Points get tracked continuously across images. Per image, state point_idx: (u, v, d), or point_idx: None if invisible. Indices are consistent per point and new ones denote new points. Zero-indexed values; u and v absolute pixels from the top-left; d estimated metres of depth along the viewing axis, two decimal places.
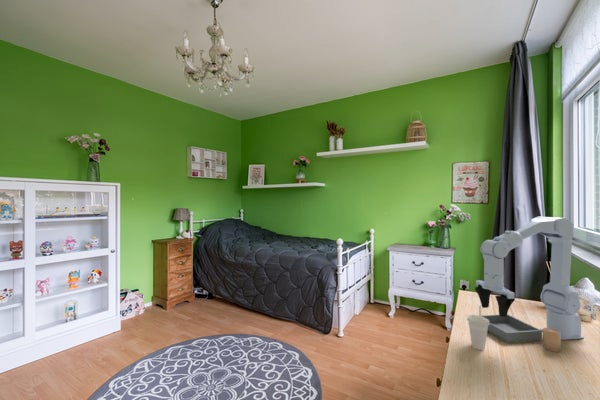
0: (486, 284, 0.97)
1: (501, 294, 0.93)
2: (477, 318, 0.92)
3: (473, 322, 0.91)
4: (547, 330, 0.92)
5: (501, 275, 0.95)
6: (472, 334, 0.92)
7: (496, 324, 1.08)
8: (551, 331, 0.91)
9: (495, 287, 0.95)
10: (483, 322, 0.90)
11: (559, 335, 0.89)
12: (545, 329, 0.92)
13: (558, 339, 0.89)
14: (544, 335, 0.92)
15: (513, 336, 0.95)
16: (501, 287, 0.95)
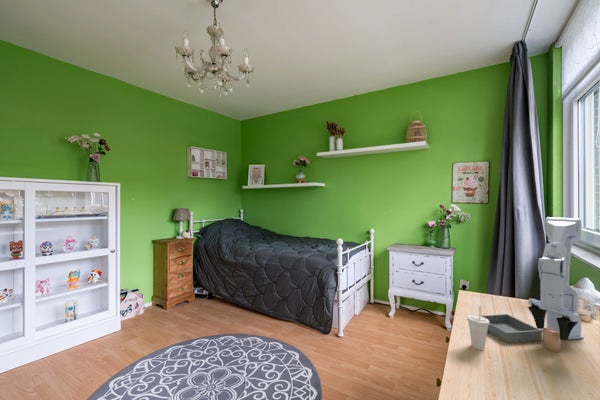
0: (544, 304, 0.91)
1: (562, 316, 0.87)
2: (477, 318, 0.92)
3: (473, 322, 0.91)
4: (547, 330, 0.92)
5: (563, 294, 0.89)
6: (472, 334, 0.92)
7: (496, 324, 1.08)
8: (551, 331, 0.91)
9: (555, 308, 0.89)
10: (483, 322, 0.90)
11: (559, 335, 0.89)
12: (545, 329, 0.92)
13: (558, 339, 0.89)
14: (544, 335, 0.92)
15: (513, 336, 0.95)
16: (561, 308, 0.89)
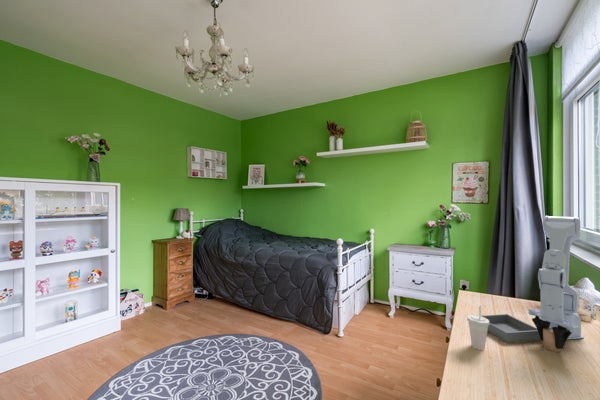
0: (544, 315, 0.91)
1: (562, 327, 0.87)
2: (477, 318, 0.92)
3: (473, 322, 0.91)
4: (547, 330, 0.92)
5: (563, 305, 0.89)
6: (472, 334, 0.92)
7: (496, 324, 1.08)
8: (551, 331, 0.91)
9: (555, 319, 0.89)
10: (483, 322, 0.90)
11: None
12: (545, 329, 0.92)
13: None
14: (544, 335, 0.92)
15: (513, 336, 0.95)
16: (561, 319, 0.89)
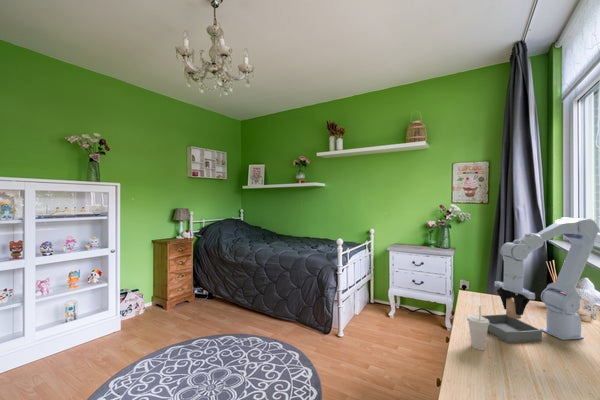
0: (506, 285, 1.01)
1: (521, 295, 0.97)
2: (477, 318, 0.92)
3: (473, 322, 0.91)
4: (509, 299, 1.01)
5: (520, 277, 0.98)
6: (472, 334, 0.92)
7: (496, 324, 1.08)
8: (513, 300, 1.01)
9: (515, 288, 0.98)
10: (483, 322, 0.90)
11: None
12: (508, 299, 1.02)
13: None
14: (506, 304, 1.01)
15: (513, 336, 0.95)
16: (521, 288, 0.98)
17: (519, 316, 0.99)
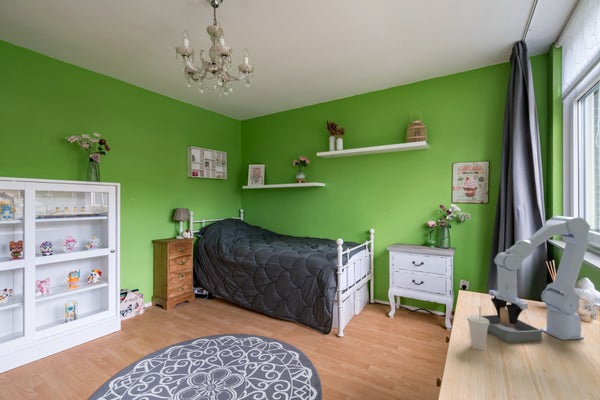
0: (500, 294, 1.02)
1: (514, 304, 0.99)
2: (477, 318, 0.92)
3: (473, 322, 0.91)
4: (503, 308, 1.03)
5: (513, 286, 1.00)
6: (472, 334, 0.92)
7: (496, 324, 1.08)
8: (506, 309, 1.02)
9: (509, 297, 1.00)
10: (483, 322, 0.90)
11: None
12: (502, 308, 1.04)
13: None
14: (500, 313, 1.03)
15: (513, 336, 0.95)
16: (514, 297, 1.00)
17: (512, 325, 1.01)
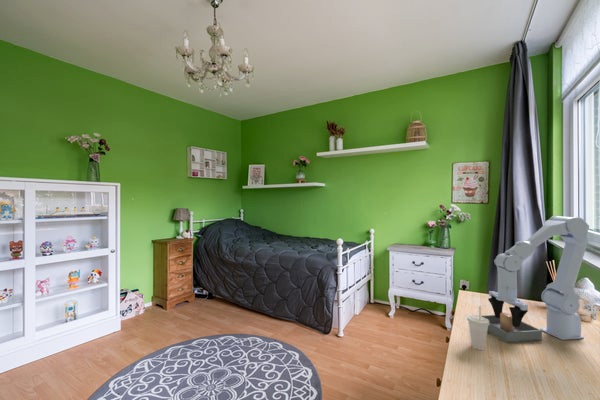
0: (500, 296, 1.02)
1: (514, 305, 0.99)
2: (477, 318, 0.92)
3: (473, 322, 0.91)
4: (503, 314, 1.03)
5: (513, 287, 1.00)
6: (472, 334, 0.92)
7: (496, 324, 1.08)
8: (507, 315, 1.02)
9: (509, 299, 1.00)
10: (483, 322, 0.90)
11: None
12: (502, 313, 1.04)
13: (511, 322, 1.01)
14: (500, 318, 1.03)
15: (513, 336, 0.95)
16: (514, 299, 1.00)
17: (512, 331, 1.01)
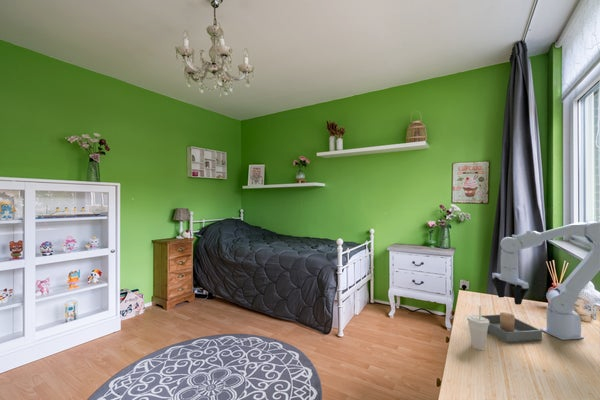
0: (502, 276, 1.09)
1: (516, 284, 1.05)
2: (477, 318, 0.92)
3: (473, 322, 0.91)
4: (503, 314, 1.03)
5: (511, 268, 1.07)
6: (472, 334, 0.92)
7: (496, 324, 1.08)
8: (506, 315, 1.03)
9: (511, 278, 1.07)
10: (483, 322, 0.90)
11: (512, 318, 1.01)
12: (501, 313, 1.04)
13: (511, 322, 1.01)
14: (500, 318, 1.03)
15: (513, 336, 0.95)
16: (516, 278, 1.07)
17: (512, 331, 1.01)
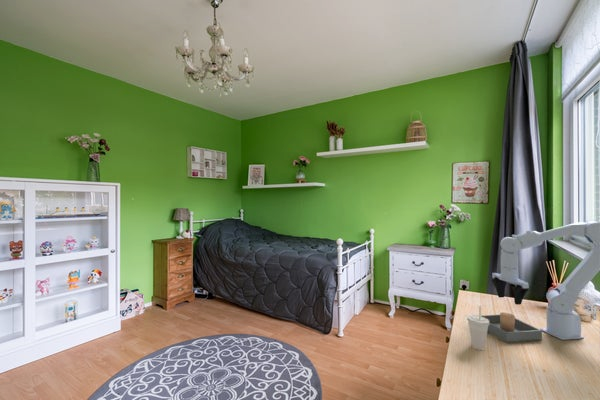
0: (502, 276, 1.09)
1: (516, 284, 1.05)
2: (477, 318, 0.92)
3: (473, 322, 0.91)
4: (503, 314, 1.03)
5: (511, 268, 1.07)
6: (472, 334, 0.92)
7: (496, 324, 1.08)
8: (507, 315, 1.02)
9: (511, 278, 1.07)
10: (483, 322, 0.90)
11: (512, 318, 1.01)
12: (502, 313, 1.04)
13: (511, 322, 1.01)
14: (500, 318, 1.03)
15: (513, 336, 0.95)
16: (516, 278, 1.07)
17: (512, 331, 1.01)
